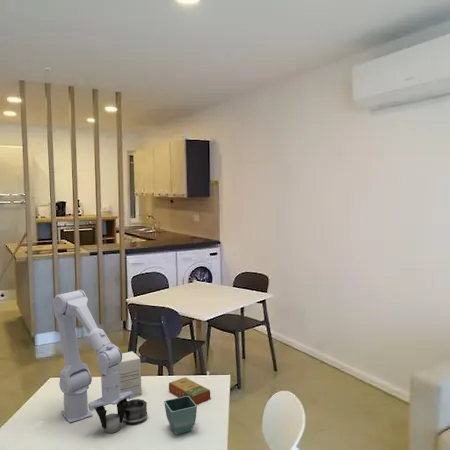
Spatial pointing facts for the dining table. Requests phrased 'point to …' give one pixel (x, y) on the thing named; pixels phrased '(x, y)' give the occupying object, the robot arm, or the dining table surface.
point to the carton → (189, 390)
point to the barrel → (135, 412)
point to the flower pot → (181, 414)
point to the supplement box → (130, 373)
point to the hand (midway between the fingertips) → (112, 424)
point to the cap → (112, 423)
